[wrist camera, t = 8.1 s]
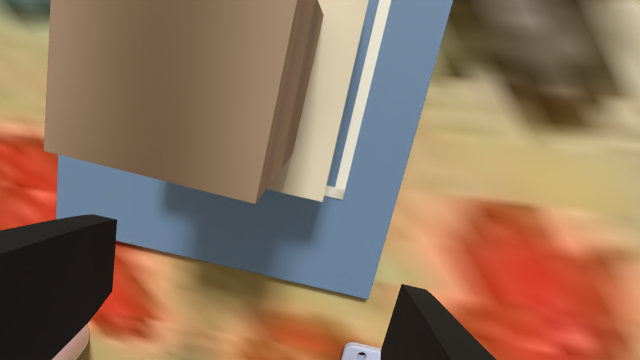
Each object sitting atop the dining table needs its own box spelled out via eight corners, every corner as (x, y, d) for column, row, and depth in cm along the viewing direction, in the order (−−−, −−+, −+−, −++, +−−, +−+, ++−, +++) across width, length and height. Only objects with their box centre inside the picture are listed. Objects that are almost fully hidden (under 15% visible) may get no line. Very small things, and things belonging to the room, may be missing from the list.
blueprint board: (458, -28, 17) (462, -32, 16) (367, 293, 21) (368, 300, 20) (77, -111, 17) (66, -119, 16) (63, 222, 21) (54, 227, 21)
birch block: (367, 1, 17) (373, -22, 13) (328, 176, 19) (322, 201, 15) (188, -39, 17) (140, -73, 13) (168, 140, 19) (122, 156, 15)
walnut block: (323, 14, 13) (304, -34, 8) (292, 153, 15) (255, 204, 9) (182, -20, 13) (55, -95, 8) (163, 121, 15) (43, 150, 9)
